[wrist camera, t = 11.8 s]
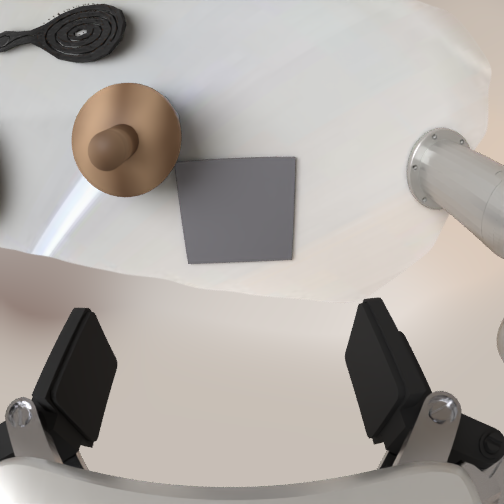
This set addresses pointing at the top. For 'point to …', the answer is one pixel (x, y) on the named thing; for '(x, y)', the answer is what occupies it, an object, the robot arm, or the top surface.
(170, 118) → the lid
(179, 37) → the top surface
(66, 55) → the hairbrush
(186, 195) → the mat
